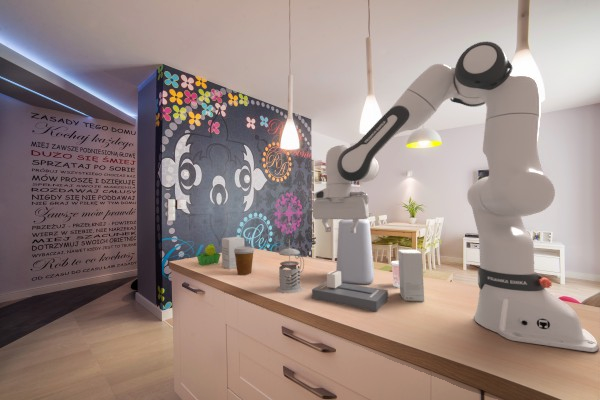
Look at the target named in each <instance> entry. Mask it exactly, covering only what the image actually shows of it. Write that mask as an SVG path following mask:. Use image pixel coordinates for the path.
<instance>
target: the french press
mask: <svg viewBox="0 0 600 400" xmlns="http://www.w3.org/2000/svg"><path fill="white" fill-rule="evenodd" d="M290 226H291V227H292V223H291V222H286V227H290ZM290 243H291V242H290V240H288V248H284V249H282V250H280V251H279V252H278V254H279V255H281V256H284V257H285V256H286V257H288V258H289V260H288V261H281V262H280V263H279V264H280V266H279V271H278V273H279V278H278V279H279V286H278V287H277V288H276V291H278V293H282V294H295V293H300V292H301V291H303V289H304V288H303V287H302V286H301V273H303V271H304V268H305V259H304V257H303V256H302V255H301V252H300V251H299V250H298V249H296V248H291V247H290V246H291V245H290ZM291 256H295V258H296V259H299V261H300V262H302V261H303V265H300V266H299V264H300V263H299V262H298V261H291V258H290V257H291ZM301 258H302V259H301ZM302 266H303V267H302ZM301 268H302V270H301Z"/></svg>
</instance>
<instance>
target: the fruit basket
mask: <svg viewBox="0 0 600 400" xmlns="http://www.w3.org/2000/svg"><path fill="white" fill-rule="evenodd" d="M204 251H205V253H201V254H196V257H197V262H198V264H199V265H200V266H208V265H214V263H216V264H219V262H220V257H221V256H222V253H219V252H216V247H215V244H214V243H209V244H208V245H207V246H206V247H205V249H204Z"/></svg>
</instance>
